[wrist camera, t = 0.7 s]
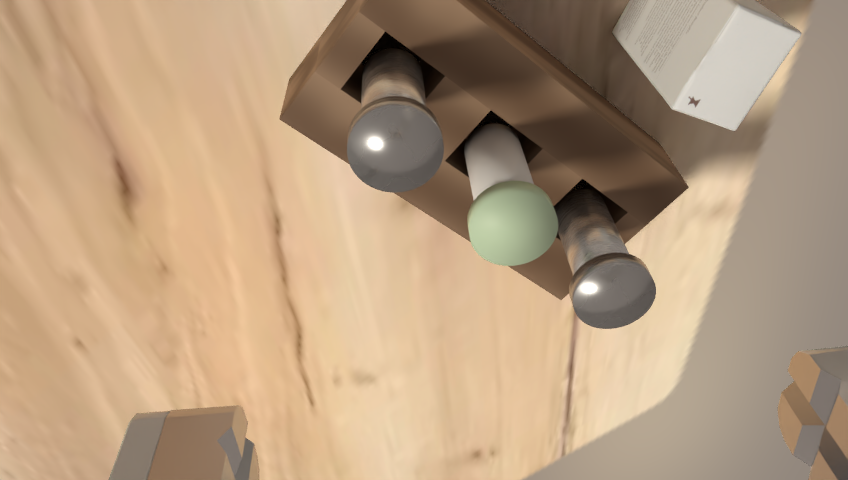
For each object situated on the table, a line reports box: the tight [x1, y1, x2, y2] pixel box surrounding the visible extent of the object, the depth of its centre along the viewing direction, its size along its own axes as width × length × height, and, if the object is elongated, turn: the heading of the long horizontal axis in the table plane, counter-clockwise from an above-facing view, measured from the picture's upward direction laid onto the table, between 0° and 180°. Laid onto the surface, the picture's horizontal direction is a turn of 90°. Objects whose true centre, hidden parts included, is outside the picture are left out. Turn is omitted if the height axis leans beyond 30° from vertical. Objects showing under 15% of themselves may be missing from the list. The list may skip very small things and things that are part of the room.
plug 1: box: [347, 48, 444, 192], centre depth 40 cm, size 5×5×9 cm
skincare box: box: [612, 0, 801, 131], centre depth 42 cm, size 6×4×12 cm
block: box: [280, 0, 689, 300], centre depth 49 cm, size 12×24×6 cm, turn 51°
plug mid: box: [464, 123, 558, 266], centre depth 43 cm, size 5×5×9 cm
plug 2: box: [554, 189, 656, 329], centre depth 46 cm, size 5×5×9 cm
